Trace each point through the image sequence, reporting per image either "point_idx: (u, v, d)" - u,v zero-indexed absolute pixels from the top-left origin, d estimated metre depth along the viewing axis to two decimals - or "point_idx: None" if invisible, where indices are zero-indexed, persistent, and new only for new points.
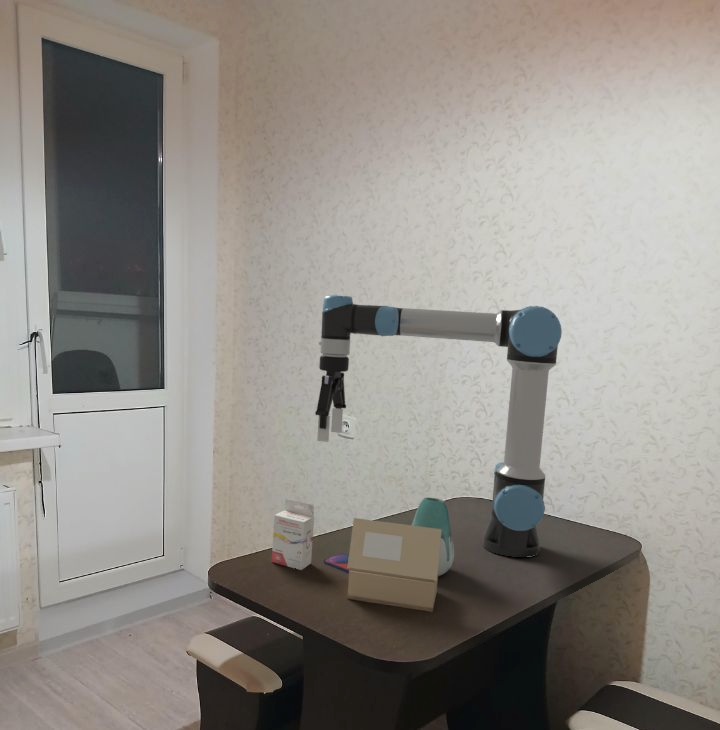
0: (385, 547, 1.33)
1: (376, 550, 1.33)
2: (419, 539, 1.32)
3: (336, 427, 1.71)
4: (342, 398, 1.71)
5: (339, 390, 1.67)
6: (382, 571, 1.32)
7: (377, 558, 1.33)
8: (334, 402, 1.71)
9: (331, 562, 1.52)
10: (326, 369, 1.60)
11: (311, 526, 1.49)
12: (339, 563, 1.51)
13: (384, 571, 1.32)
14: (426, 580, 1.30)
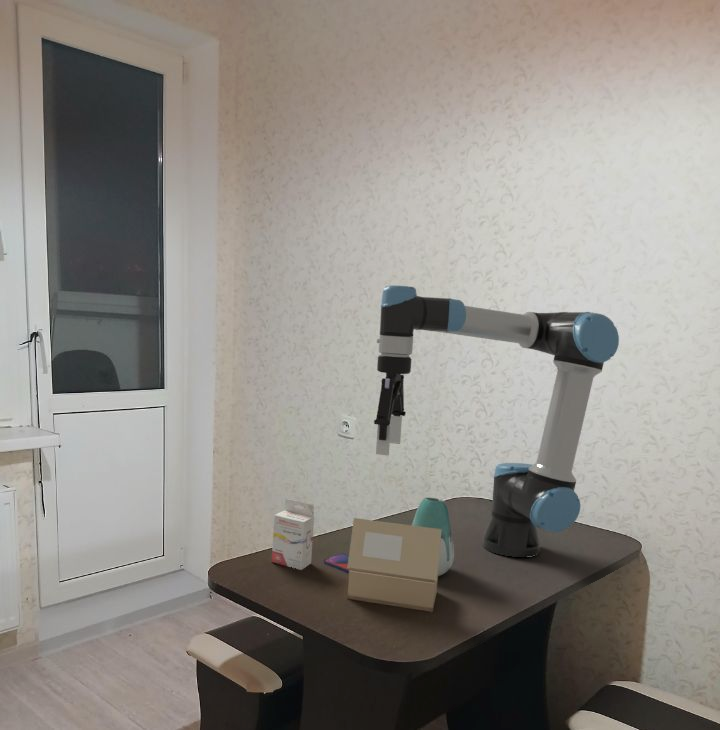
0: (385, 547, 1.33)
1: (376, 550, 1.33)
2: (419, 539, 1.32)
3: (394, 437, 1.49)
4: (401, 404, 1.48)
5: (399, 395, 1.45)
6: (382, 571, 1.32)
7: (377, 558, 1.33)
8: (392, 409, 1.49)
9: (331, 562, 1.52)
10: (386, 371, 1.38)
11: (311, 526, 1.49)
12: (339, 563, 1.51)
13: (384, 571, 1.32)
14: (426, 580, 1.30)
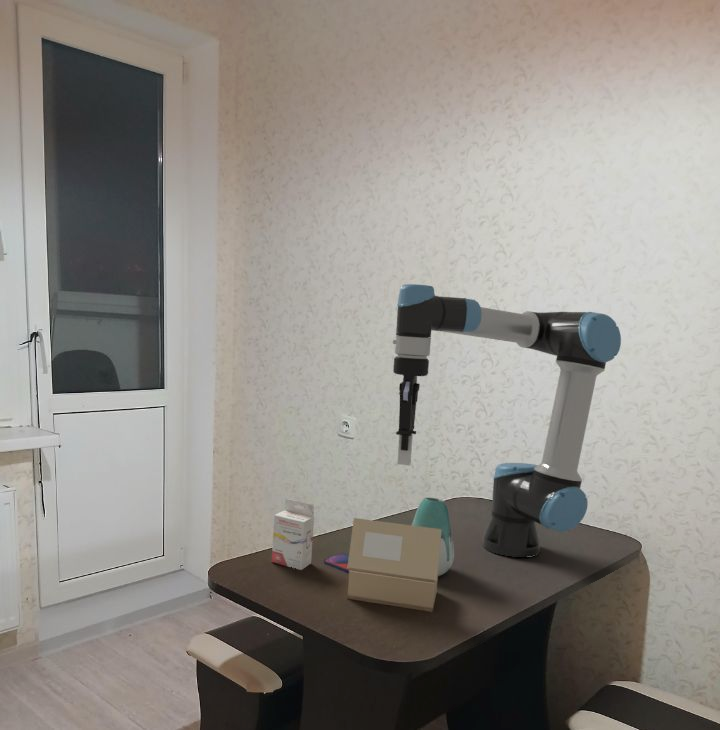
0: (385, 547, 1.33)
1: (376, 550, 1.33)
2: (419, 539, 1.32)
3: None
4: (413, 420, 1.39)
5: None
6: (382, 571, 1.32)
7: (377, 558, 1.33)
8: None
9: (331, 562, 1.52)
10: (403, 373, 1.33)
11: (311, 526, 1.49)
12: (339, 563, 1.51)
13: (384, 571, 1.32)
14: (426, 580, 1.30)
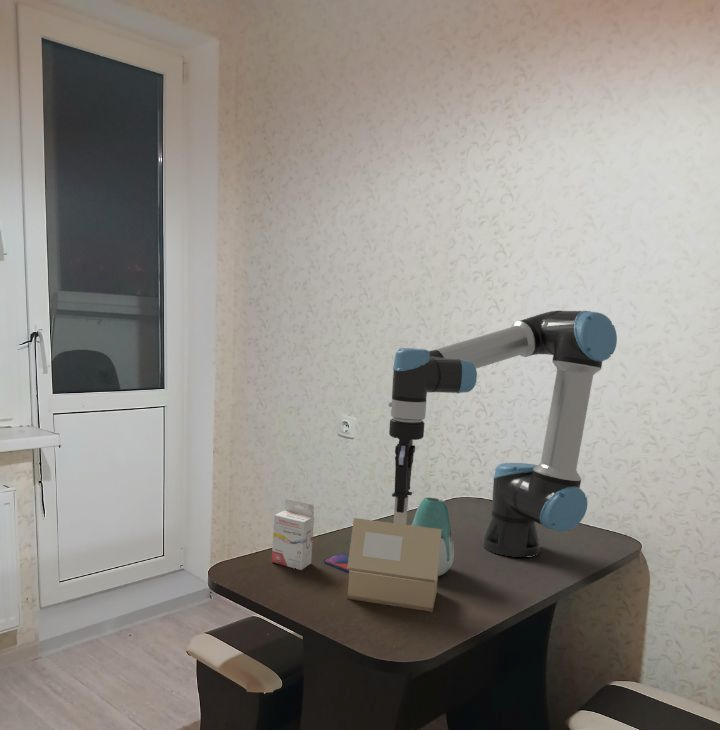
0: (385, 547, 1.33)
1: (376, 550, 1.33)
2: (419, 539, 1.32)
3: None
4: None
5: None
6: (382, 571, 1.32)
7: (377, 558, 1.33)
8: None
9: (331, 562, 1.52)
10: (399, 437, 1.34)
11: (311, 526, 1.49)
12: (339, 563, 1.51)
13: (384, 571, 1.32)
14: (426, 580, 1.30)
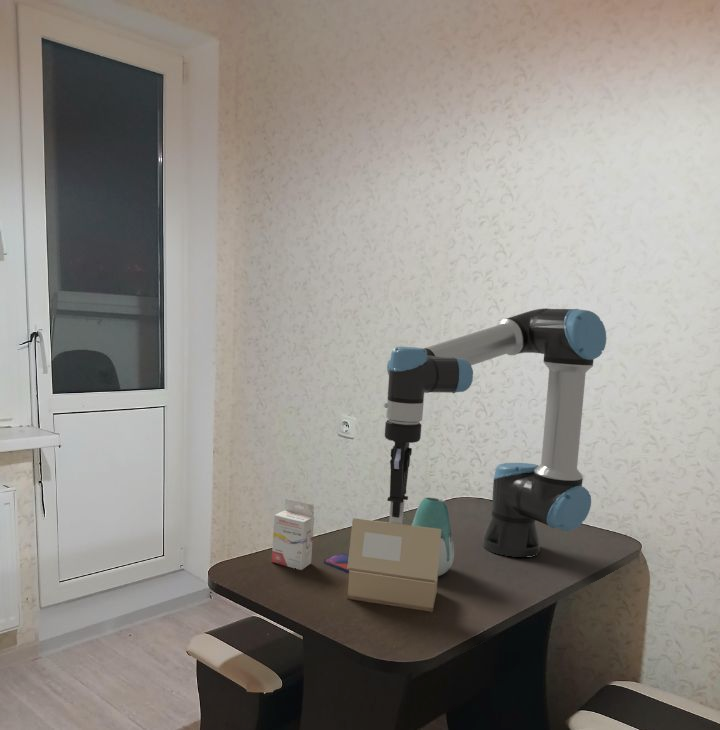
0: (385, 547, 1.32)
1: (376, 550, 1.32)
2: (419, 539, 1.31)
3: None
4: (405, 485, 1.35)
5: None
6: (382, 571, 1.32)
7: (377, 558, 1.32)
8: None
9: (331, 562, 1.52)
10: (395, 440, 1.29)
11: (311, 526, 1.49)
12: (339, 563, 1.51)
13: (384, 571, 1.32)
14: (426, 580, 1.30)
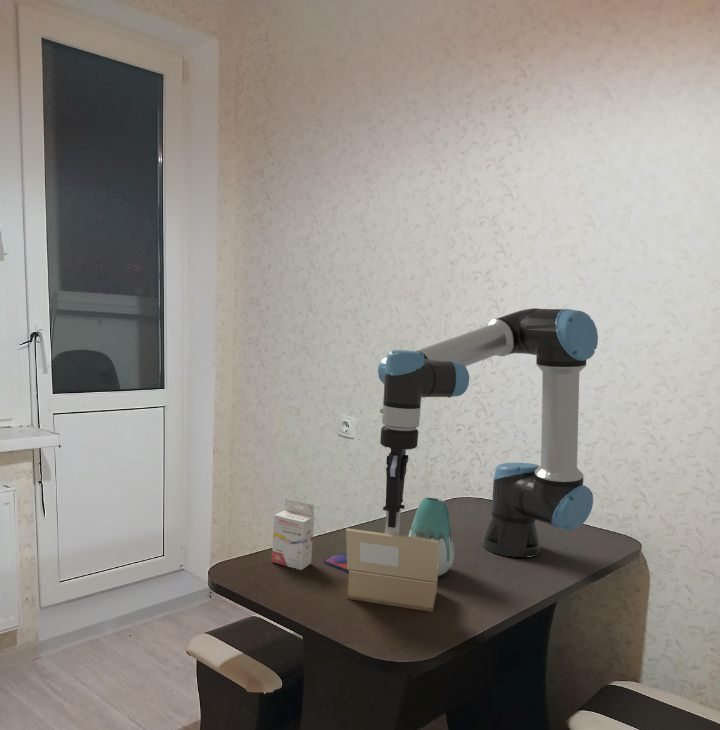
0: (382, 555, 1.29)
1: (373, 557, 1.30)
2: (416, 550, 1.27)
3: None
4: (401, 493, 1.30)
5: None
6: (382, 573, 1.31)
7: (375, 563, 1.31)
8: None
9: (331, 562, 1.52)
10: (391, 446, 1.24)
11: (311, 526, 1.49)
12: (339, 563, 1.51)
13: (384, 573, 1.31)
14: (426, 581, 1.30)
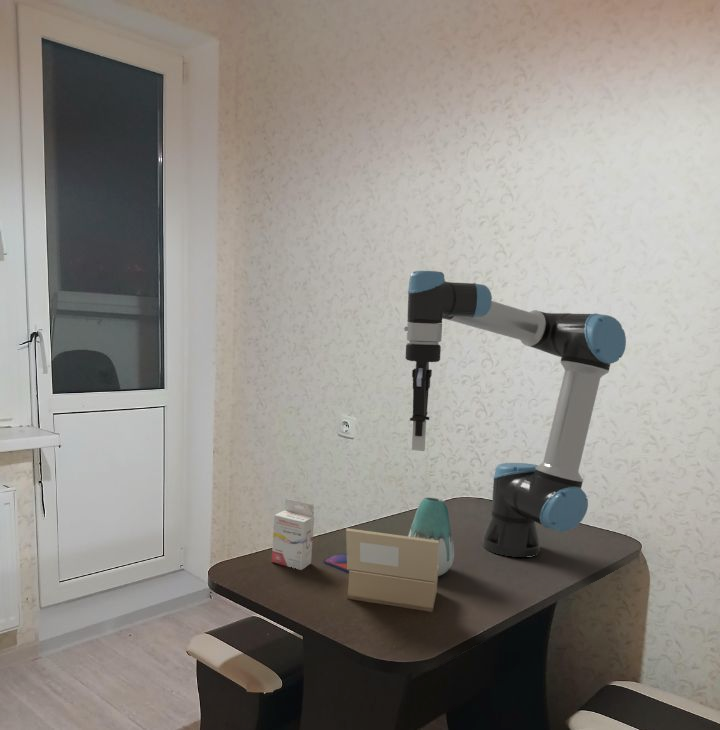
0: (382, 555, 1.29)
1: (373, 557, 1.30)
2: (416, 550, 1.27)
3: None
4: (426, 406, 1.40)
5: None
6: (382, 573, 1.31)
7: (375, 563, 1.31)
8: None
9: (331, 562, 1.52)
10: (416, 359, 1.34)
11: (311, 526, 1.49)
12: (339, 563, 1.51)
13: (384, 573, 1.31)
14: (426, 581, 1.30)
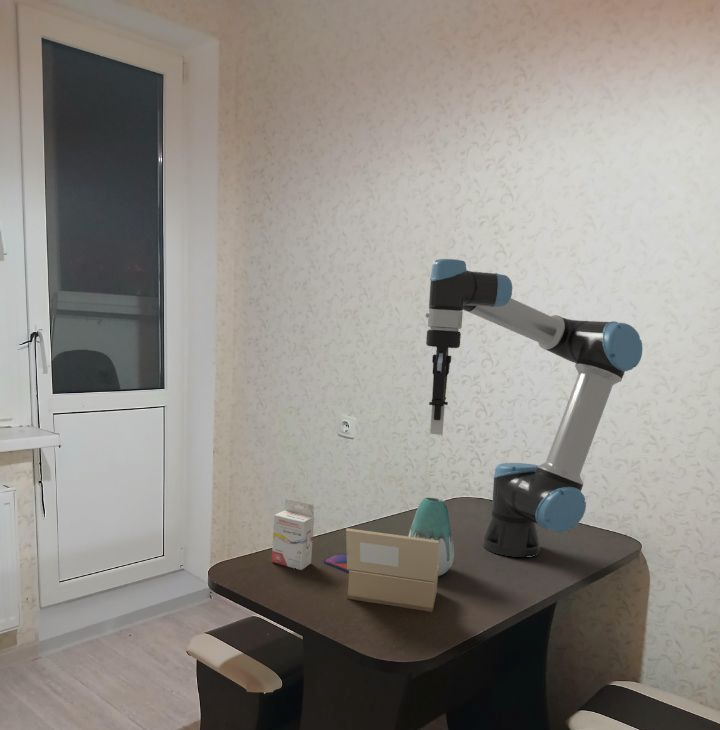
0: (382, 555, 1.29)
1: (373, 557, 1.30)
2: (416, 550, 1.27)
3: None
4: None
5: None
6: (382, 573, 1.31)
7: (375, 563, 1.31)
8: None
9: (331, 562, 1.52)
10: (437, 345, 1.38)
11: (311, 526, 1.49)
12: (339, 563, 1.51)
13: (384, 573, 1.31)
14: (426, 581, 1.30)
